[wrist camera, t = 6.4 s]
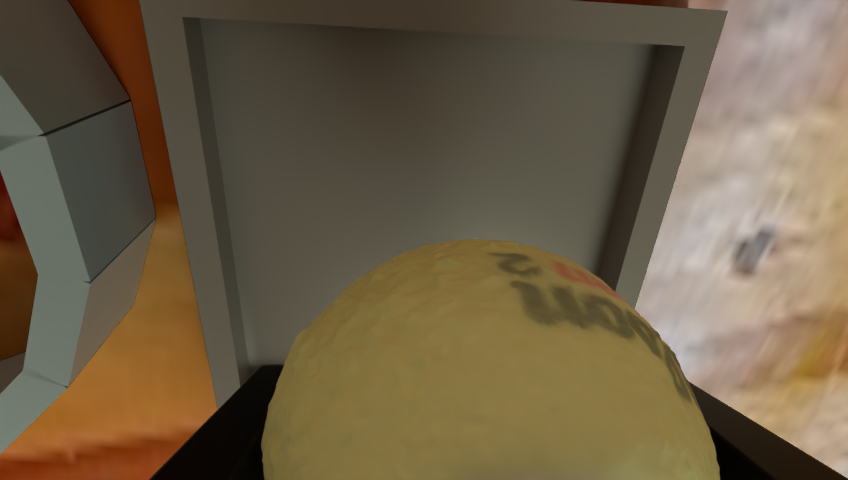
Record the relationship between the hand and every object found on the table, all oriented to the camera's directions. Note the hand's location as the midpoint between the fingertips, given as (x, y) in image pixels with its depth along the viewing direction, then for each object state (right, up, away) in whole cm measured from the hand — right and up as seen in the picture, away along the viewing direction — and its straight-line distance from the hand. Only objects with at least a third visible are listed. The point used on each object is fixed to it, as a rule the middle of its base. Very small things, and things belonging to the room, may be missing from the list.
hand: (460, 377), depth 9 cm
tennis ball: (0, +1, +1) cm, 1 cm away
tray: (-1, +3, +5) cm, 6 cm away
